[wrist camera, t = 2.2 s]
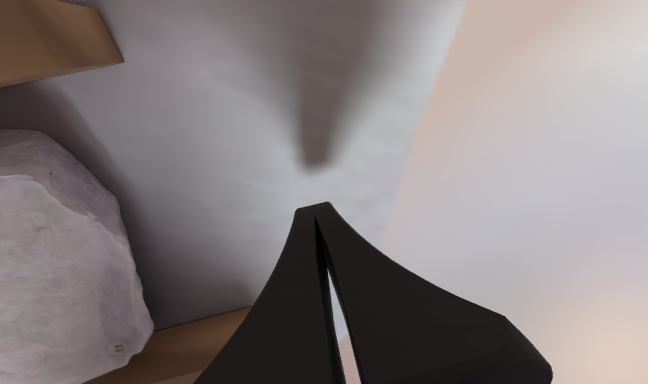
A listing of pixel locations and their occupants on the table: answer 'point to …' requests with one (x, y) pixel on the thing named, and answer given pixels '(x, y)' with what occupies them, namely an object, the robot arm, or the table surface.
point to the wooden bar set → (79, 55)
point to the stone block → (62, 269)
